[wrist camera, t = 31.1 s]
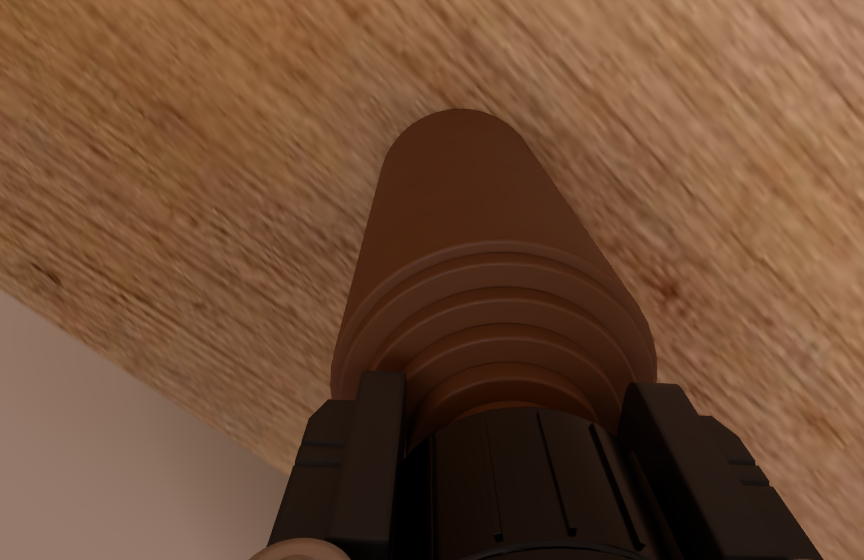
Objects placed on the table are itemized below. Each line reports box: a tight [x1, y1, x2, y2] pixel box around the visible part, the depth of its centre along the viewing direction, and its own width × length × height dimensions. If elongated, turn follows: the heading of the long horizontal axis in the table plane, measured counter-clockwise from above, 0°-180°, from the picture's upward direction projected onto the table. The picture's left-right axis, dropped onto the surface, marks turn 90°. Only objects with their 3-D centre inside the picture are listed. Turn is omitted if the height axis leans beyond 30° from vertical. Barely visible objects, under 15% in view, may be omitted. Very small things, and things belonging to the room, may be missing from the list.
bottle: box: [330, 109, 657, 459], centre depth 16 cm, size 6×6×19 cm
